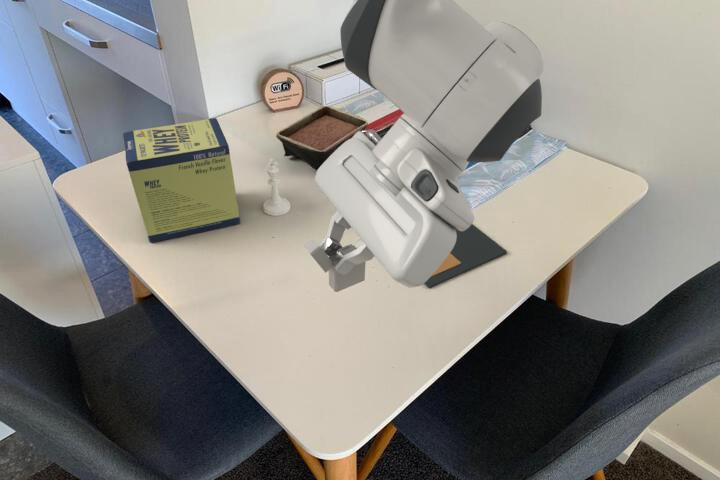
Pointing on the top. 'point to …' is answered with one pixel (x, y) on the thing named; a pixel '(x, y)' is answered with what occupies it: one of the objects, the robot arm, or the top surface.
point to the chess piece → (275, 194)
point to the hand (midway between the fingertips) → (331, 260)
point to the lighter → (335, 278)
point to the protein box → (182, 178)
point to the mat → (466, 255)
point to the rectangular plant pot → (320, 134)
